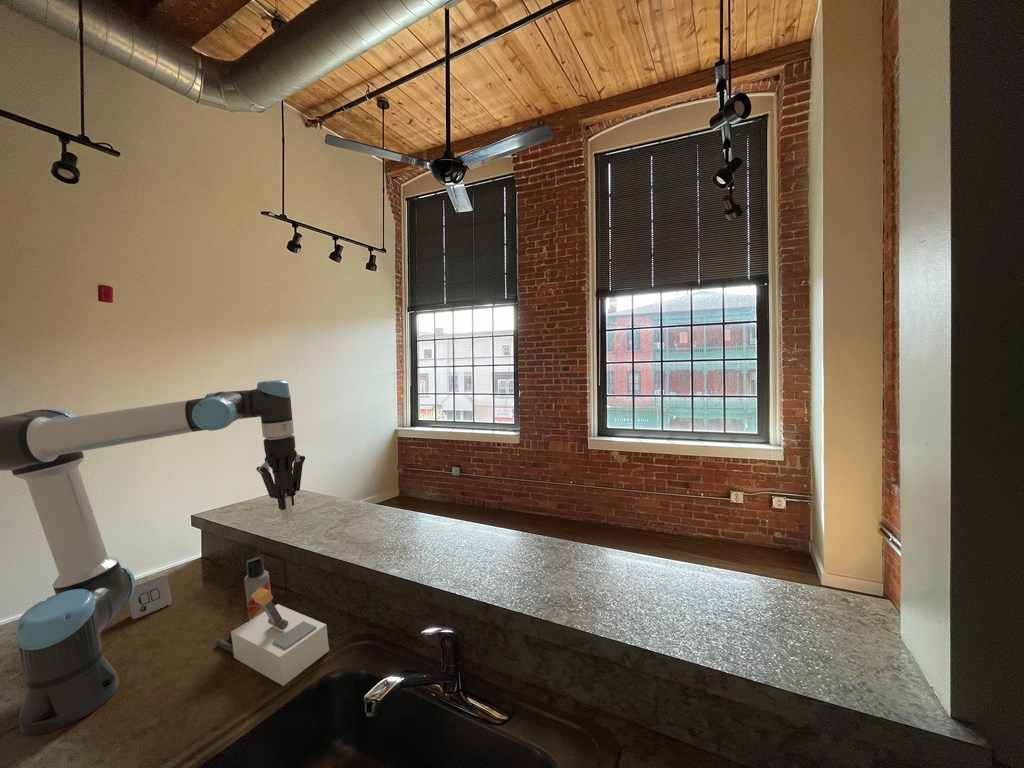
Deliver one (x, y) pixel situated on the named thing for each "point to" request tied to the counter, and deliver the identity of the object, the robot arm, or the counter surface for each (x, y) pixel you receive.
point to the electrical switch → (150, 596)
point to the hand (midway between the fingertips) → (288, 519)
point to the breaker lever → (269, 608)
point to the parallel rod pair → (225, 644)
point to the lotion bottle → (255, 584)
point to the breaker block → (280, 644)
